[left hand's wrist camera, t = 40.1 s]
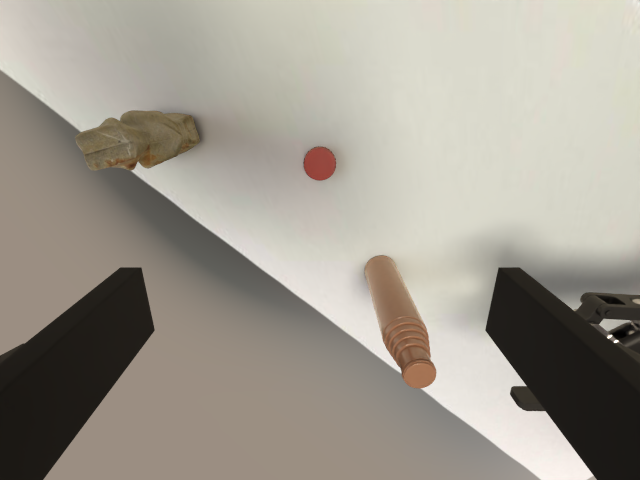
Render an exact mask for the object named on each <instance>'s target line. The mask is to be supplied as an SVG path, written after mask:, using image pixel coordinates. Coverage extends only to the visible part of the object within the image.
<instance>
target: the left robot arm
mask: <svg viewBox="0 0 640 480" xmlns="http://www.w3.org/2000/svg"><path fill="white" fill-rule="evenodd" d="M153 332H154V325H153V320H152V316H151V311H150V306H149V301H148V297H147V292H146V287H145V283H144V278H143V273H142V269H141V268H119V269H118V270H117V271H116V272H114V273H113V274H112V275H111V276H109V277H108V278H107V279H106V280H104V281H103V282H102V283H100V284H99V285H98V286H97V287H95V288H94V289H93V290H92V291H91V292H89V293H88V294H87V295H85V296H84V297H83V298H82V299H80V300H79V301H78V302H77V303H75V304H74V305H73V306H72V307H70V308H69V309H68V310H67V311H65V312H64V313H63V314H61V315H60V316H59V317H58V318H56V319H55V320H54V321H53V322H51V323H50V324H49V325H48V326H46V327H45V328H44V329H43V330H41V331H40V332H39V333H38V334H36V335H35V336H34V337H33V338H31V339H30V340H29V341H28V342H26V343H25V344H21V345H19V346H18V347H16V348H14V349H12V350H10V351H8V352H6V353H4V354H2V355H1V356H0V480H43V479H44V478H45V476H46V475H47V474H48V472H49V471H50V470H51V468H52V467H53V466H54V464H55V463H56V462H57V460H58V459H59V458H60V456H61V455H62V454H63V452H64V451H65V450H66V448H67V447H68V446H69V444H70V443H71V442H72V440H73V439H74V438H75V436H76V435H77V434H78V432H79V431H80V429H81V428H82V427H83V426H84V424H85V423H86V422H87V420H88V419H89V417H90V416H91V415H92V413H93V412H94V411H95V409H96V408H97V407H98V405H99V404H100V403H101V401H102V400H103V399H104V397H105V396H106V395H107V393H108V392H109V391H110V389H111V388H112V387H113V385H114V384H115V383H116V381H117V380H118V379H119V377H120V376H121V375H122V373H123V372H124V371H125V369H126V368H127V367H128V365H129V364H130V363H131V361H132V360H133V359H134V357H135V356H136V355H137V353H138V352H139V350H140V349H141V348H142V347H143V345H144V344H145V342H146V341H147V340H148V338H149V337H150V336H151V334H152V333H153ZM486 332H487V333H488V335H489V336H490V337H491V339H492V340H493V341H494V343H495V344H496V345H497V347H498V348H499V349H500V351H501V352H502V353H503V355H504V356H505V357H506V359H507V360H508V361H509V363H510V364H511V365H512V367H513V368H514V369H515V371H516V372H517V373H518V375H519V376H520V377H521V379H522V380H523V381H524V383H525V384H526V385H527V387H528V388H529V389H530V391H531V392H532V393H533V395H534V396H535V397H536V399H537V400H538V401H539V403H540V404H541V405H542V407H543V408H544V409H545V411H546V412H547V413H548V415H549V416H550V417H551V419H552V420H553V422H554V423H555V424H556V426H557V427H558V428H559V430H560V431H561V432H562V434H563V435H564V436H565V438H566V439H567V440H568V442H569V443H570V444H571V446H572V447H573V448H574V450H575V451H576V452H577V454H578V455H579V456H580V458H581V459H582V460H583V462H584V463H585V464H586V466H587V467H588V468H589V470H590V471H591V472H592V474H593V475H594V476H595V478H596V479H597V480H640V354H638V353H637V352H635V351H633V350H631V349H629V348H627V347H625V346H623V345H621V344H620V343H618V342H612V341H611V340H610V339H609V338H607V337H606V336H605V335H604V334H602V333H601V332H600V331H599V330H597V329H596V328H595V327H594V326H592V325H591V324H590V323H589V322H587V321H586V320H585V319H584V318H582V317H581V316H580V315H579V314H577V313H576V312H575V311H573V310H572V309H571V308H570V307H568V306H567V305H566V304H565V303H563V302H562V301H561V300H560V299H558V298H557V297H556V296H555V295H553V294H552V293H551V292H550V291H548V290H547V289H546V288H545V287H543V286H542V285H541V284H540V283H538V282H537V281H536V280H534V279H533V278H532V277H531V276H529V275H528V274H527V273H526V272H524V271H523V270H522V269H521V268H498V273H497V278H496V283H495V287H494V292H493V297H492V301H491V306H490V311H489V316H488V320H487V325H486Z"/></svg>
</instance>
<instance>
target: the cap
mask: <svg viewBox="0 0 640 480" xmlns="http://www.w3.org/2000/svg"><path fill="white" fill-rule="evenodd" d="M304 160H305V161H304V168H305V171H306V173H307V174H308V175H309V176H310V177H311V178H313V179H315V180H325V179H327V178H329V177H330V176H331V175H332V174H333V173H334V171H335V167H336V161H335V160H336V159H335V158H334V155H333V154H332V152H331V151H330V150H329V149H327V148H326V147H325V148H324V147H319V146H318V147H316V148H315V147H314V148H313V149H311V150H310V151H308V153H307V154H306V157H305V159H304Z"/></svg>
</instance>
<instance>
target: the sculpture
mask: <svg viewBox="0 0 640 480" xmlns="http://www.w3.org/2000/svg"><path fill="white" fill-rule="evenodd" d="M120 121H121V122H120ZM120 121H119V120H117V119H115V118H108V119H106V120H105V121H104V122H103V123H102V124H101V125H100V126H99V127H97V128H94V129H90V130H87V131H84V132H81V133H79V134H78V135H77V136H76V137H75V140H76V143H77V145H78V146H79V148H80V149H81V150H82V151H83V154H84V157H85V160H86V163H87V165H88V167H89V168H90V169H91V170H100V169H104V168H108V167H118V168H124V169H127V170H133V169H134V168H135V166H136V164H137V162H138V161H139V163H140V164H141V165H142V166H143V167H145V168H151V167H153V166H155V165H157V164H160V163H162V162H164V161H166V160H169V159H171V158H173V157H176V156H177V155H178V154H181V153H183V152H186V151H188V150H189V149H191V148H193V147H194V146H195V145H196V144H198V143H199V142H200V140H199V135H198V133H197V130H196V127H195V123H194V120H193V118H192V116H190V115H185V114H178V113H168V114H163V113H161V112H159V111H129V112H126V113H124V114H123V115H122V116H121V118H120Z"/></svg>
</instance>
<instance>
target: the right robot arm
mask: <svg viewBox="0 0 640 480" xmlns="http://www.w3.org/2000/svg"><path fill="white" fill-rule="evenodd" d="M580 300H581V302H582V305H581V306H580V307H579V308H578V309H574V310H573V311H575V312H576V313H577V314H579V315H580V316H581V317H582V318H584V319H585V320H586V321H587V322H589V323H590V324H591V325H592V326H594V327H595V328H596V329H597V330H599V331H600V332H601V333H602V334H604V335H605V336H606V337H607V338H609V339H610V340H611V341H612V342H618V343H620V344H621V345H623V346H625V347H627V348H629V349H631V350H633V351H635V352H637V353H638V354H640V295H626V294H609V293H591V292H588V293H585V294H583V295H582V297H581V299H580ZM603 319H621V320H630V321H632V322H630V323H625V324H622V325H620V326H618V327H616V328H614V329H612V330H610V331H608V332H607V331H606V330H605V329H603V328H602V327H601V326H600V325H599V324H600V322H601V321H602V320H603ZM510 395H511V396H512V398H513V399H514V401H515V402H516V404H517V405H518V406H519V407H520V408H522V409H523V410H526V411H545V409H544V408H543V407H542V405H541V404H540V403H539V401H538V400H537V399H536V397H535V396H534V395H533V393H532V392H531V391H530V389H529V388H528V387H527V386H513V387H512V388H511V392H510Z"/></svg>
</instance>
